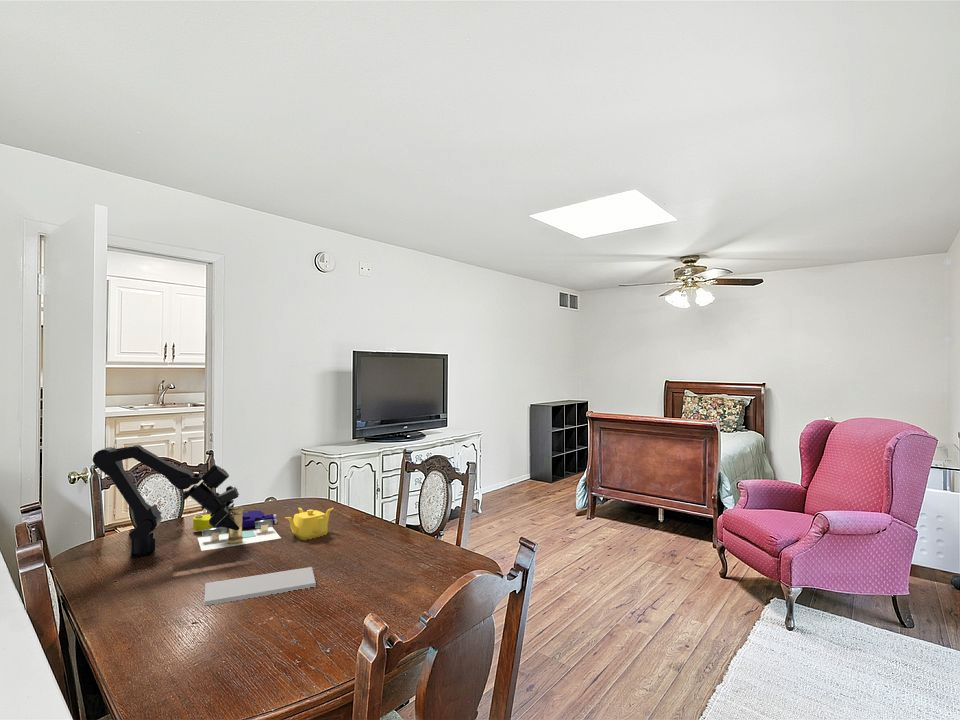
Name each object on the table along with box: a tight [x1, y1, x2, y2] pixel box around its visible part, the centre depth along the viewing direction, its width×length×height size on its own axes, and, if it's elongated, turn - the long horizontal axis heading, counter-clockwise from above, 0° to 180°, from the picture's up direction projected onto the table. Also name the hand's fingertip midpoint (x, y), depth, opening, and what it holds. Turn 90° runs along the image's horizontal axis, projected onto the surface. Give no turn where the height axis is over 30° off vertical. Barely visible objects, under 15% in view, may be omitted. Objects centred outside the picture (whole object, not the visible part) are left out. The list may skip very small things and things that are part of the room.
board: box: [197, 526, 282, 552], centre depth 188 cm, size 26×16×1 cm, turn 123°
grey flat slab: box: [203, 566, 317, 607], centre depth 149 cm, size 29×12×4 cm, turn 117°
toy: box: [192, 510, 278, 532], centre depth 202 cm, size 12×7×30 cm
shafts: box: [201, 519, 274, 542], centre depth 191 cm, size 24×6×4 cm, turn 123°
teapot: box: [284, 507, 334, 541], centre depth 197 cm, size 15×14×10 cm
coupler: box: [227, 506, 245, 544], centre depth 184 cm, size 5×5×12 cm
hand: (239, 526), depth 185 cm, fingers open, 7 cm apart
